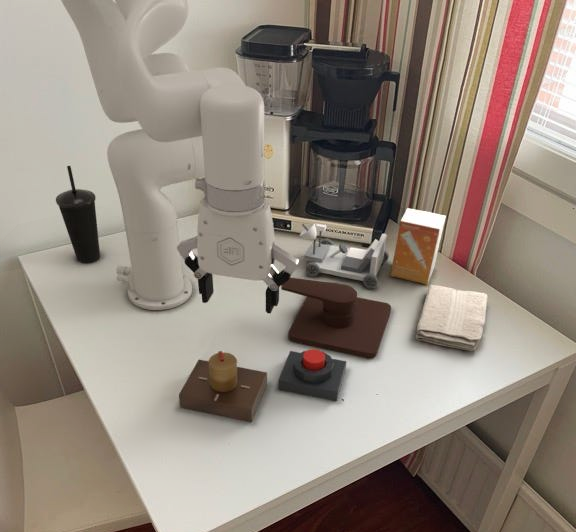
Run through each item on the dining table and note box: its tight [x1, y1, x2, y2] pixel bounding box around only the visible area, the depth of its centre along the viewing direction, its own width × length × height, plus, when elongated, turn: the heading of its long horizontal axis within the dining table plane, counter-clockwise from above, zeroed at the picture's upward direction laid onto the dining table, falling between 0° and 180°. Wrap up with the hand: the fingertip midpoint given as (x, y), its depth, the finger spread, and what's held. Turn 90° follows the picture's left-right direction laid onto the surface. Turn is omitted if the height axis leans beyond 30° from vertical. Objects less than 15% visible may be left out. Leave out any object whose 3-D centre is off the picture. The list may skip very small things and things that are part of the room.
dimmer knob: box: [208, 350, 238, 392], centre depth 97 cm, size 4×4×5 cm
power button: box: [303, 348, 325, 371], centre depth 101 cm, size 4×4×2 cm
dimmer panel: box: [178, 359, 268, 423], centre depth 99 cm, size 12×9×3 cm
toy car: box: [299, 222, 390, 290], centre depth 128 cm, size 18×10×12 cm
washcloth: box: [415, 284, 488, 352], centre depth 117 cm, size 12×18×3 cm, turn 163°
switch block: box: [277, 350, 347, 402], centre depth 103 cm, size 10×8×4 cm
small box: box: [390, 207, 447, 286], centre depth 126 cm, size 8×6×13 cm
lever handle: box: [280, 276, 392, 359], centre depth 114 cm, size 16×7×20 cm
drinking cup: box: [55, 165, 101, 264], centre depth 124 cm, size 8×8×20 cm
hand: (239, 303), depth 90 cm, fingers open, 9 cm apart
